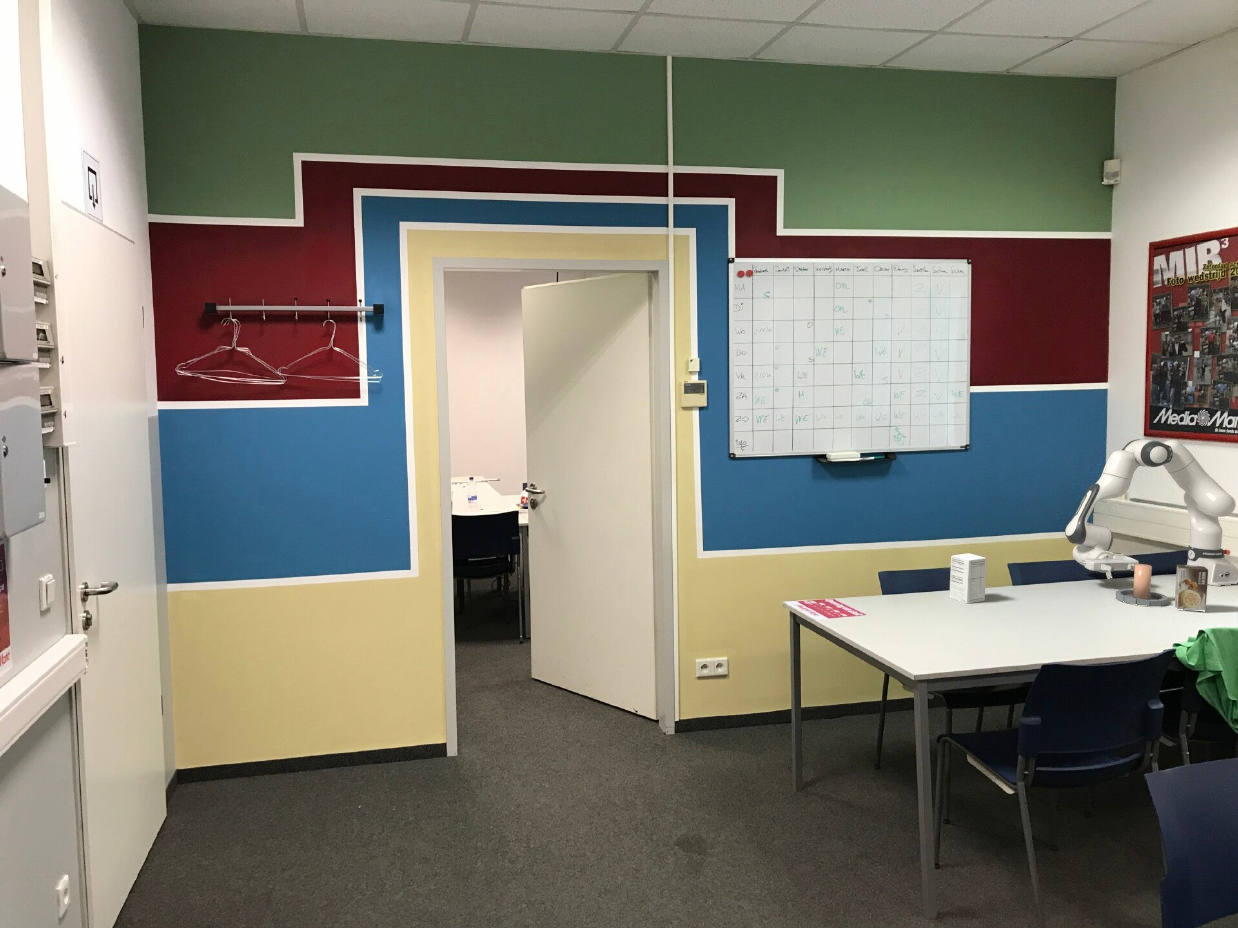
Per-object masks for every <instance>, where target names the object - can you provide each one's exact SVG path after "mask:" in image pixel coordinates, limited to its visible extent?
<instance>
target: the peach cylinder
mask: <svg viewBox="0 0 1238 928" xmlns="http://www.w3.org/2000/svg"><path fill="white" fill-rule="evenodd" d="M1152 570H1153V566H1152V565H1150V564H1146V563H1139V564H1135V571H1133V572H1134V574H1133V598H1136V599H1145V600H1150V591H1151V584H1152V583H1151V582H1152Z"/></svg>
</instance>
